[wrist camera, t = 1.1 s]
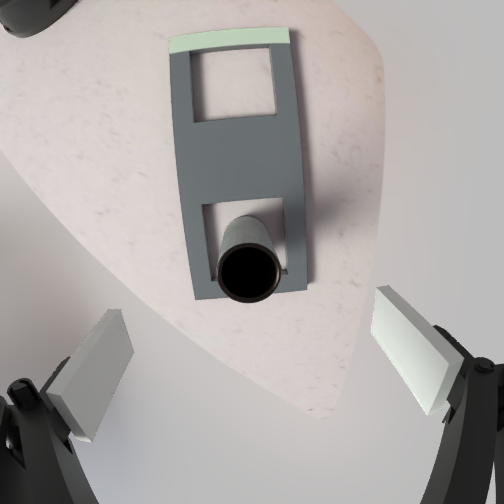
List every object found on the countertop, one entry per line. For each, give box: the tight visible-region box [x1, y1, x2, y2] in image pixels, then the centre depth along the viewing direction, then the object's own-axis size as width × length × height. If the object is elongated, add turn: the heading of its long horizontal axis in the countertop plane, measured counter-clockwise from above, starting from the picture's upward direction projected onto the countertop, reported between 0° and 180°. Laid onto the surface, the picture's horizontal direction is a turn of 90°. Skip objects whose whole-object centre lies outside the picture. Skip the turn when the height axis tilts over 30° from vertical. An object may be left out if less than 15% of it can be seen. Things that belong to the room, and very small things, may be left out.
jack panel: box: [169, 27, 307, 300], centre depth 26 cm, size 28×12×1 cm, turn 5°
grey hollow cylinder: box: [216, 216, 281, 303], centre depth 25 cm, size 4×4×10 cm
